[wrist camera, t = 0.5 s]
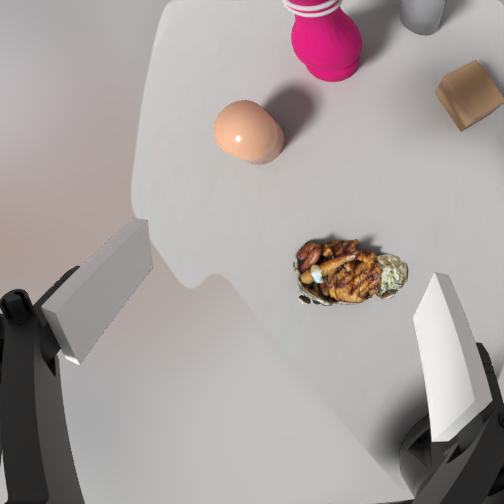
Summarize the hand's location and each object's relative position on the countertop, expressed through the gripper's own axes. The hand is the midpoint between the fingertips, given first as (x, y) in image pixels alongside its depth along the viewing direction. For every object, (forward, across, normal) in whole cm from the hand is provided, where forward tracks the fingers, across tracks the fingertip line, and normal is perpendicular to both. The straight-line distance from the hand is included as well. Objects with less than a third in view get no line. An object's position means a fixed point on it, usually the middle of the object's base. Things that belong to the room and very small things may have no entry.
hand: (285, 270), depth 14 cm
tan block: (+24, -16, -9) cm, 30 cm away
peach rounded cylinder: (+24, +6, 0) cm, 24 cm away
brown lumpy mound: (+17, -6, +11) cm, 21 cm away
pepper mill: (+27, -1, -10) cm, 29 cm away
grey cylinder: (+29, -11, -19) cm, 36 cm away
